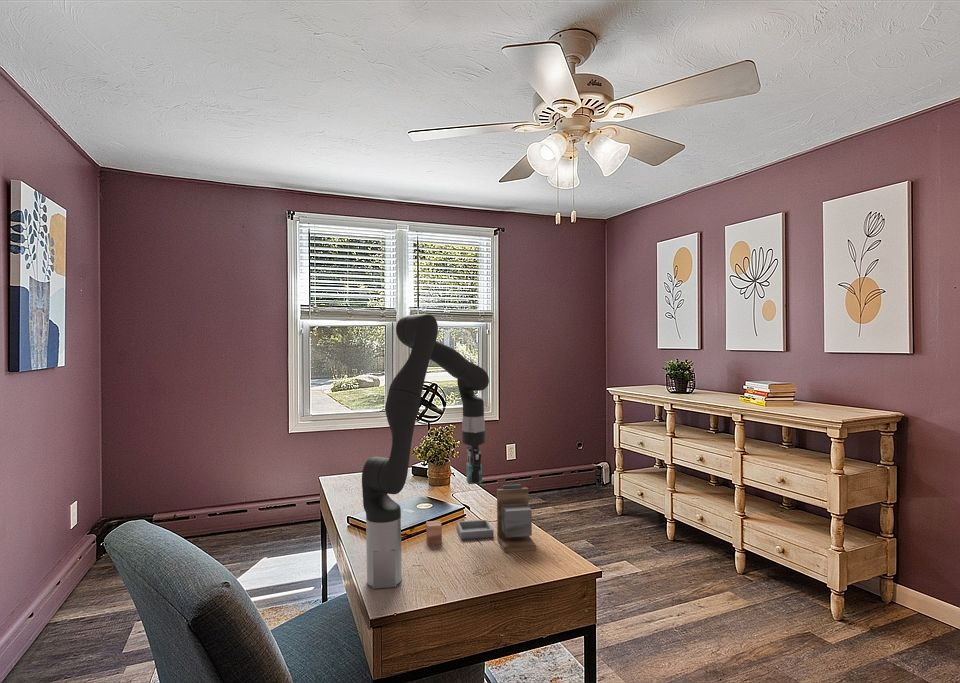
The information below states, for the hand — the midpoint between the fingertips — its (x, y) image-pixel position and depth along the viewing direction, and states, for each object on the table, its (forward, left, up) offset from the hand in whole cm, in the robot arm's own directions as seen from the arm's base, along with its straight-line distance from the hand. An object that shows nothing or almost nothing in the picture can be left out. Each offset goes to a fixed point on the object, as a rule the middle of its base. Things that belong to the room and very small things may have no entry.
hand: (474, 480), depth 189 cm
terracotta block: (-5, +14, -18) cm, 23 cm away
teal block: (0, 0, -1) cm, 1 cm away
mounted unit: (-13, -11, -18) cm, 24 cm away
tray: (0, 0, -18) cm, 18 cm away
